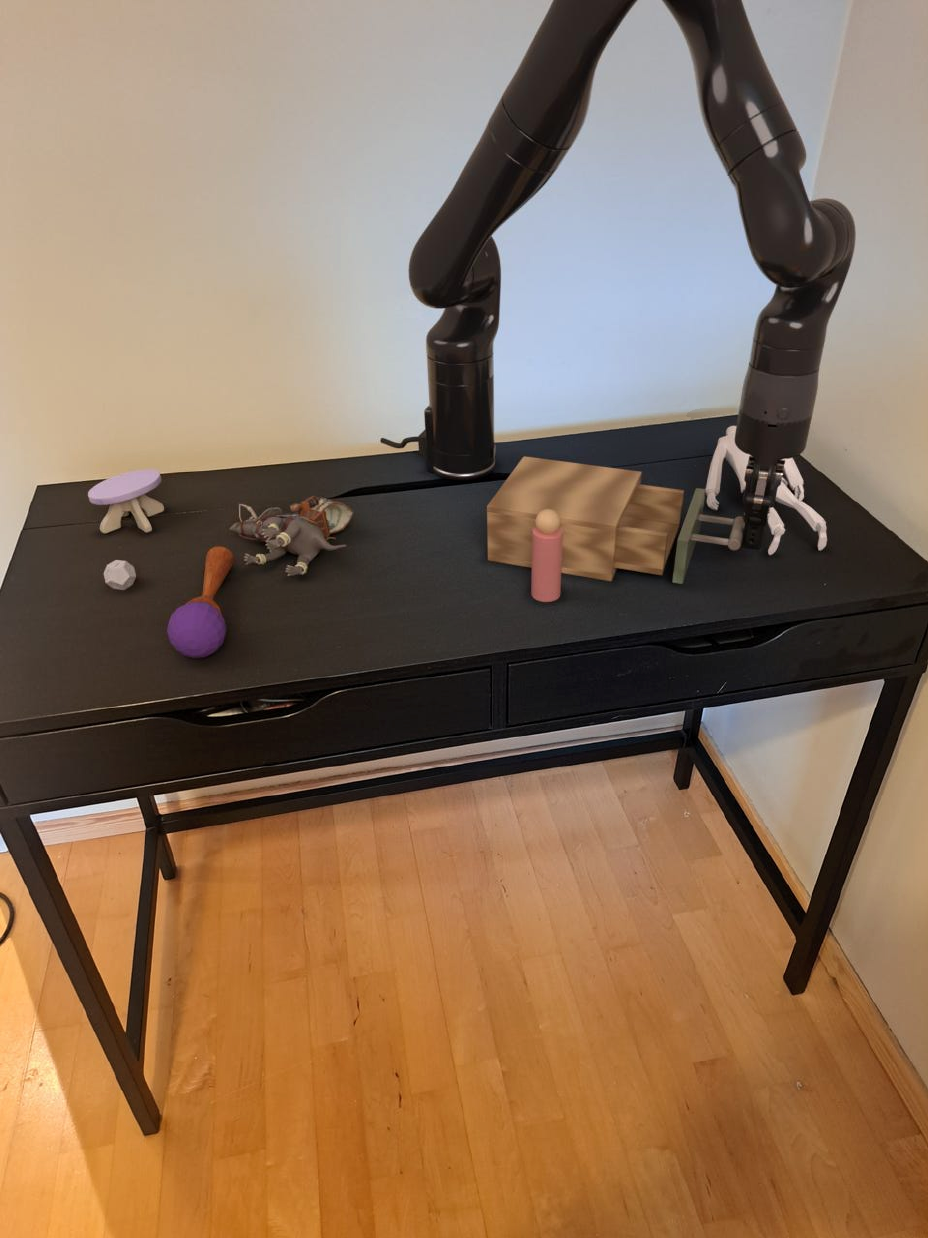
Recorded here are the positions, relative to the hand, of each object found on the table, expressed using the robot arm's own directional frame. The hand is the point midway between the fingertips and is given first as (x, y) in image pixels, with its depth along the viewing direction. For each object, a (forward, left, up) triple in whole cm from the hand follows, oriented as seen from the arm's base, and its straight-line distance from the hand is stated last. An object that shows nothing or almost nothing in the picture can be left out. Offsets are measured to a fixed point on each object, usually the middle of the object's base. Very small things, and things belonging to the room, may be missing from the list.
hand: (751, 545), depth 106 cm
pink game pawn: (-21, -12, -3) cm, 25 cm away
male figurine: (0, +16, -4) cm, 17 cm away
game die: (-71, -27, -4) cm, 76 cm away
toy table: (-80, -13, -4) cm, 81 cm away
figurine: (-55, -11, -4) cm, 56 cm away
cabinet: (-23, 0, -3) cm, 23 cm away
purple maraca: (-57, -29, -4) cm, 63 cm away
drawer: (-11, 0, -3) cm, 11 cm away
